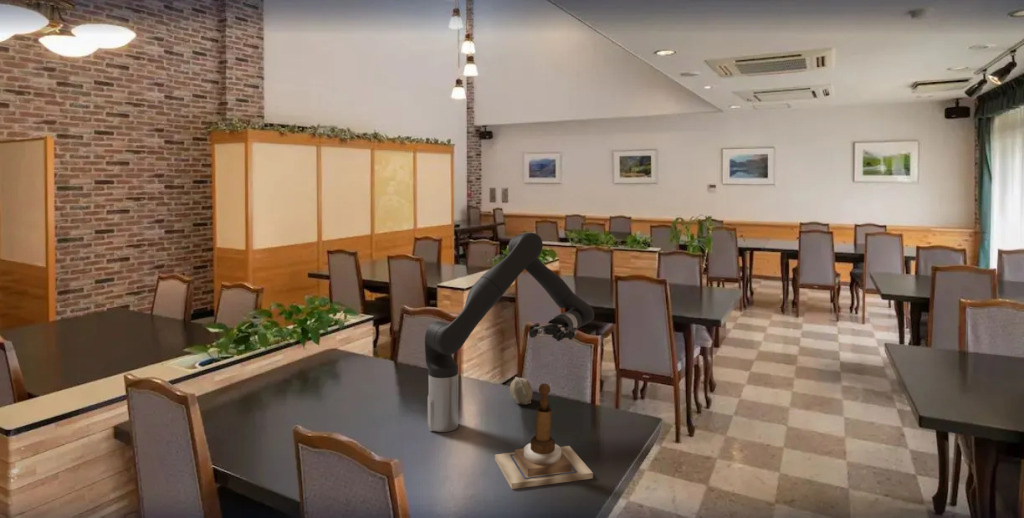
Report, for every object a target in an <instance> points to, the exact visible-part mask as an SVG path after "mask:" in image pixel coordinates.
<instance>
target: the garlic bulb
mask: <svg viewBox="0 0 1024 518" xmlns="http://www.w3.org/2000/svg"><path fill="white" fill-rule="evenodd" d="M509 393H510V396H511V397H512V398H513V401H514V403H515V404H517V405H528V404H531V403H532V401H531V400H532V398H533V388H532V386H531V383H530V381H529V380H528V379H526V378H525V377H519V376H515V377H514V378H513V380H512V381H511V383H510V385H509Z"/></svg>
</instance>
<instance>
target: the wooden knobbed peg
mask: <svg viewBox="0 0 1024 518" xmlns="http://www.w3.org/2000/svg"><path fill="white" fill-rule="evenodd" d="M538 391H539V394H540V396H541V398H540V400H539V403H540V404H539V405H540V406H538V407H537V408H536V419H535V420H536V421H535V423H536V424H535V435H534V436H533V437H532V438H531V440H530V443H531V450H532V451H533V452H535V453H539V454H549V453H552V452H553V451H554V450H555V444H556V441H555V439H554V438H553V437H552V436H551V427H552V426H551V425H552V409H551V407H549V406H548V405H549V400H548V396H549V394H550V392H551V386H550V385H549V384H547V383H542V384H540V385H539V386H538Z"/></svg>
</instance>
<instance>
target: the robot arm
mask: <svg viewBox="0 0 1024 518" xmlns="http://www.w3.org/2000/svg"><path fill="white" fill-rule="evenodd" d="M543 246H544V244H543V240H542V237H541V236H540V235H539V234H537V233H534V232H525V233H521V234H518V235H516V236H514V237H512V238H511V239H510V240H509V242H508V247H507V248H508V252H509V254H507V256H505V257H504V258H503V259H501V260H500V262H498V263H497V264H495V265H493V266H492V267H490V269H488V270H487V271H486V272H485V273H484V274H482V275H481V276H480V278H479V279H478V280H477V281H476V282H475V283H474V284H473V285H472V287H471V288H470V289H469V292H468V294H467V297H466V301H465V303H464V304H465V305H464V307H463V309H462V310H461V311H460V313H459V314H458V315H457V316H456V318H455V319H454V320H453V321H452V322H450V323H447V322H445V321H435V322H434V321H433V322H432V323H431V324H429V326H428V327H427V329H426V332H425V335H424V354H425V355H424V356H425V357H424V358H425V364H426V367H427V371H428V395H427V426H428V429H429V431H430V432H438V433H447V432H451V431H452V432H453V431H454V430H456V429H458V427H459V365H458V363H457V362H456V361H455V359H454V357H453V355H454V354H456V353H457V352H458V351H460V349H461V348H462V346H463V345H464V344H465V343H466V341H467V340H468V338H469V337H470V335H471V334H472V332H473V331H474V329H476V327H477V326H478V324H479V323H480V322H481V321H482V320H483V318H484V317H485V316H486V315H487V313H488V312H489V311H490V310H491V309H492V308H493V307H494V306H495V305H496V303H498V301H499V300H500V299H501V298H502V297H503V295H504V294H505V293H506V291H508V290H509V288H510V287H511V285H513V283H514V282H515V281H516V279H518V277H519V276H520V275H521V273H522V272H523V271H524V270H525V271H526V272H528V274H529V275H531V277H532V278H534V280H536V281H537V283H538V284H539V285H540V286H541V287H542V288H543V289H544V290H545V292H546V293H547V294H548V295H549V297H550V298H551V299H552V301H553V302H554V303H555V304H556V305H557V307H558V308H560V309H566V308H570V309H569V310H566V311H564V312H562V313H558V314H557V315H555V316H554V317H552V318H550V319H549V321H548V322H547V324H540V323H538V322H536V323H534V324H532V325H529V330H528V334H529V337H530V338H531V339H533V338H535V337H537V336H540V337H552V338H553V339H554V340H556V342H560V341H562V340H566V339H568V340H573V339H575V337H577V334H578V333H577V332H578V331H577V330H578V329H580V328H581V327H583V326H585V325H587V324H588V323H590V322H592V321H594V319H595V312H594V309H593V308H592V306H591V305H590V304H589V303H588V302H586V301H585V300H583V299H582V298H581V297H579V296H578V295H577V294H575V293H574V291H573V290H572V289H571V288H570V286H569V285H568V284H567V283H566V281H564V279H563V278H562V277H560V275H558V274H557V273H555V272H554V271H553V270H551V269H550V267H548V266H546V265H545V264H544V263H543V262H542V261H541V260H540V258H539V257H540V255H541V253H542V251H543Z"/></svg>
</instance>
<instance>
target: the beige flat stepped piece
mask: <svg viewBox="0 0 1024 518" xmlns="http://www.w3.org/2000/svg"><path fill="white" fill-rule="evenodd" d="M494 460H495V462H496V463H497V466H498V467H499V470H500V471H501V473H502V475H503V476H504V478H505V480H506V482H507V483H508V485H509V486H510V489H511V490H515V489H524V488H531V487H538V486H545V485H553V484H560V483H568V482H569V483H570V482H576V481H583V480H590V479H594V472H593V471H592V470H591V469H590V468H589V467H588V466H587V464H586V463H585V462H584V461H583V460H582V459H581V457H580V456H579V455H578V454H577V453H576V452H575V450H573V448H572V447H571V446H570V445H565V446H559V445H558V444H557V443H555V450H554V451H553V452H552V453H549V454H539V453H535V452H533V451H532V450H531V442H529V443H528V444H526V445H525V446H524V447H523V448H517V449H514V452H503V453H497V454H494Z"/></svg>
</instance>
